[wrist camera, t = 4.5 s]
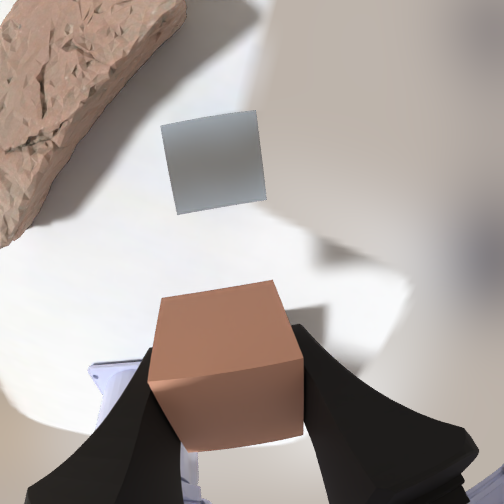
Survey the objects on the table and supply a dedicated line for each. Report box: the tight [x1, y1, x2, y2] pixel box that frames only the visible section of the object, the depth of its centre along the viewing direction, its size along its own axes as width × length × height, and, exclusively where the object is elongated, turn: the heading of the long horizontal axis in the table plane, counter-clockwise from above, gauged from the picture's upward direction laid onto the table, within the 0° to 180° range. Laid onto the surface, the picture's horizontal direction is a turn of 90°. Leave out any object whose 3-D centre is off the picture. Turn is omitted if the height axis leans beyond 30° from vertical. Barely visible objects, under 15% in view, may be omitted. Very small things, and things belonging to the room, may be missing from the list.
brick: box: [0, 0, 187, 249], centre depth 11 cm, size 17×8×5 cm, turn 135°
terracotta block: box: [147, 280, 304, 453], centre depth 10 cm, size 4×4×4 cm
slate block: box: [161, 110, 267, 215], centre depth 14 cm, size 4×4×4 cm
